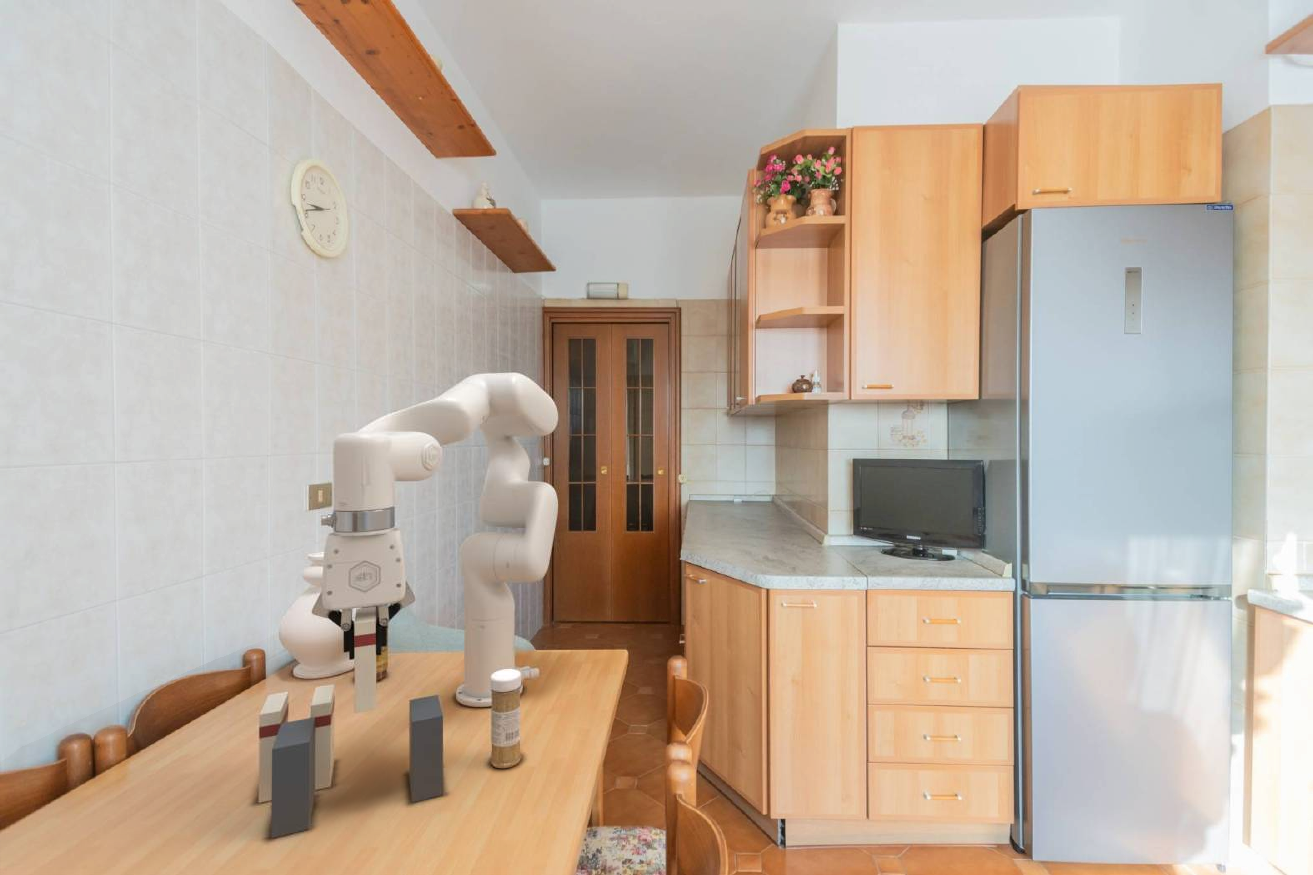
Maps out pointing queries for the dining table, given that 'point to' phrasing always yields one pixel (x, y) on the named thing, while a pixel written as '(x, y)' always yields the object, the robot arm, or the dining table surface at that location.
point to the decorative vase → (314, 631)
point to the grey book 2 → (425, 748)
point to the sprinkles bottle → (505, 718)
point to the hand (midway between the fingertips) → (365, 653)
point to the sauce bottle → (383, 658)
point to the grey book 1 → (293, 777)
